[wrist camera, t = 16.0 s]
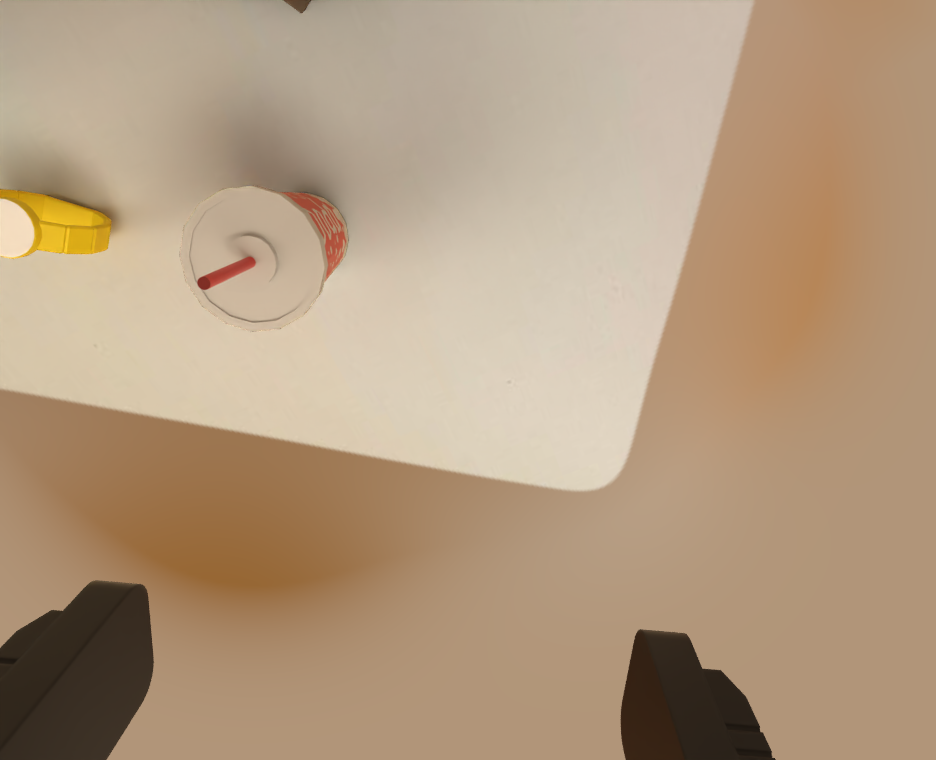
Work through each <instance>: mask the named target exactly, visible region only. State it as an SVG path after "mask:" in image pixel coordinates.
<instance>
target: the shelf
mask: <svg viewBox="0 0 936 760" xmlns="http://www.w3.org/2000/svg"><path fill="white" fill-rule="evenodd" d="M284 1H285V2H286V3H288V4H289V5H290V6H292V7H293V8H294V9H296V10H297V11H298V12H300V13H303V11H304V10H305V8H306V7H307V5H308V4H309V2H310V1H311V0H284Z"/></svg>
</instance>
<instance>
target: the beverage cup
mask: <svg viewBox="0 0 936 760" xmlns="http://www.w3.org/2000/svg"><path fill="white" fill-rule="evenodd" d="M348 241H349V239H348V233H347V227H346V223H345V221H344V219H343V218H342V216H341V214H340V213H339V211H338V209H337V208H336V207H335V206H333V205H332V204H331V203H330V202H328V201H327V200H326V199H325V198H323V197H319V196H316V195H313V194H309V193H292V192H276V191H273V190H270V189H266V188H263V187H260V186H245V187H236V188H227V189H222V190H220V191H218V192H217V193H215V194H213V195H212V196H210V197H209V198H207V199H205V200H204V201H202V202H200V203H199V204H198V205H197V207H196V208H195V210H194V211H193V213H192V215H191V216H190V218H189V219H188V221H187V222H186V224H185V225H184V227H183V234H182V241H181V247H180V254H179V255H180V259H181V263H182V267H183V272H184V276H185V280H186V283H187V285H188V286H189V288H190V289H191V291H192V292H193V293H194V295H195V296H196V298H197V299H198V301H199V302H200V304H201V305H202V307H203V308H205V309H206V310H207V311H209V312H210V313H212V314H213V315H214V316H216V317H217V318H218V319H220V320H221V321H222V322H224V323H225V324H228V325H231V326H235V327H238V328H241V329H245V330H248V331H252V332H256V331H266V330H276V329H281V328H283V327H285V326H286V325H288V324H290V323H292V322H294V321H295V320H297V319H299V318H301V317H303V316H304V315H305V313H306V312H307V311H308V310H309V308H310V307H311V306H312V304H313V303H314V302H315V300H316V299H317V298H318V296H319V295H320V294H321V292H322V290H323V286H324V282H325V281H326V280H327V278H328V277H329V276H330V275H331V274H332V272H333V271H334V270H335V269H336V268H337V266H338V265H339V264H340V262H341V261H342V259H343V258H344V257H345V254H346V250H347V245H348Z"/></svg>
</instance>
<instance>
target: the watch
mask: <svg viewBox="0 0 936 760" xmlns="http://www.w3.org/2000/svg"><path fill="white" fill-rule="evenodd" d="M111 222H112V221H111V220H110V219H109V218H108V217H107V216H105V215H104V214H102V213H100V212H99V211H95V210H92V209H89V208H85V207H82V206H79V205H75V204H72V203H69V202H66V201H62V200H59V199H56V198H52V197H49V195H43V194H37V193H31V192H25V191H19V190H18V191H16V190H5V189H0V256H1V257H5V258H12V259H14V258H20V257H24V256H28V255H30V254H31V253H33V252H35V251H36V250H42V251H48V252H55V253H65V254H93V253H97V252H101V251H105V250H107V249H108V243H109V237H110V230H111Z"/></svg>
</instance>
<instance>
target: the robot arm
mask: <svg viewBox="0 0 936 760" xmlns="http://www.w3.org/2000/svg"><path fill="white" fill-rule="evenodd" d="M153 663H154V661H153V648H152V636H151V625H150V613H149V601H148V593H147V590H146V588H145V587H144V586H143V585H141V584H132V583H120V582H109V581H92V582H91V583H89V584H88V585H87V586H86V587H85V588H84V589H83V590H82V591H81V592H80V593H79V594H78V595H77V597H75V599H74V600H73V601H72V602H71V603H70V604H69V605H68V606H67V607H66V608H65V609H64V610H63V611H57V610H51V611H49V612H48V613H46V614H44V615H43V616H41V617H39V618H38V619H36V620H35V621H33V622H31V623H29V624H28V625H26V626H24V627H23V628H21V629H20V630H18V631H16V633H14V635H12V637H10V639H9V640H8V641H7V642H6V643H5V644H4V645H3V646H2V647H1V648H0V760H106V759H107V758H108V756H109V755H110V753H111V752H112V750H113V748H114V747H115V745H116V744H117V742H118V740H119V739H120V737H121V736H122V734H123V733H124V731H125V729H126V728H127V726H128V725H129V723H130V721H131V719H132V718H133V716H134V715H135V713H136V712H137V710H138V709H139V707H140V706H141V704H142V702H143V700H144V698H145V696H146V694H147V691H148V689H149V686H150V682H151V678H152V672H153ZM621 736H622V744H623V749H624V754H625V758H626V760H775V758H772V754H771V753H772V751H771V749H770V747H769V745H768V743H767V741H766V738H765V736H764V734H763V733H762V732H760V726H759V724H758V722H757V720H756V717H755V715H754V713H753V711H752V709H751V707H750V704H749V702H748V700H747V698H746V696H745V695H744V694H743V693H742V692H741V691H740V690H739V689H738V688H737V687H736V686H735V685H734V684H733V683H732V682H731V681H730V680H729V678H728V677H727V676H726V675H725V674H724V673H723V672H722V671H721V670H711V669H702V667H701V665H700V662H699V660H698V657H697V655H696V652H695V650H694V648H693V645H692V643H691V640H690V638H689V637H688V636H687V634H685V633H675V632H664V631H652V630H641V629H640V630H639V631H638V632H637V633H636V636H635V640H634V644H633V650H632V654H631V660H630V665H629V670H628V675H627V681H626V685H625V690H624V696H623V700H622V707H621Z"/></svg>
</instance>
